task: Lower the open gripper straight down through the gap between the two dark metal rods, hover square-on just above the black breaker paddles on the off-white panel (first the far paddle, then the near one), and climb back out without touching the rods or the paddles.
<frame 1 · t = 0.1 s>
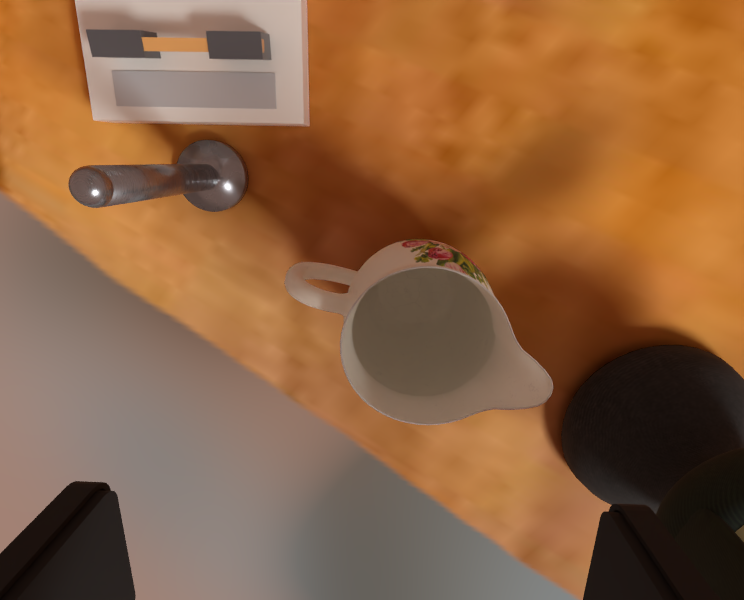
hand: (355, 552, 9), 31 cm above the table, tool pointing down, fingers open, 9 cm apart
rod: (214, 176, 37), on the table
panel: (204, 55, 34), on the table
paddles: (182, 45, 31), point 4 cm above the table, hinge at 10.0°
pitcher: (403, 285, 39), on the table
candelabra: (622, 425, 43), on the table
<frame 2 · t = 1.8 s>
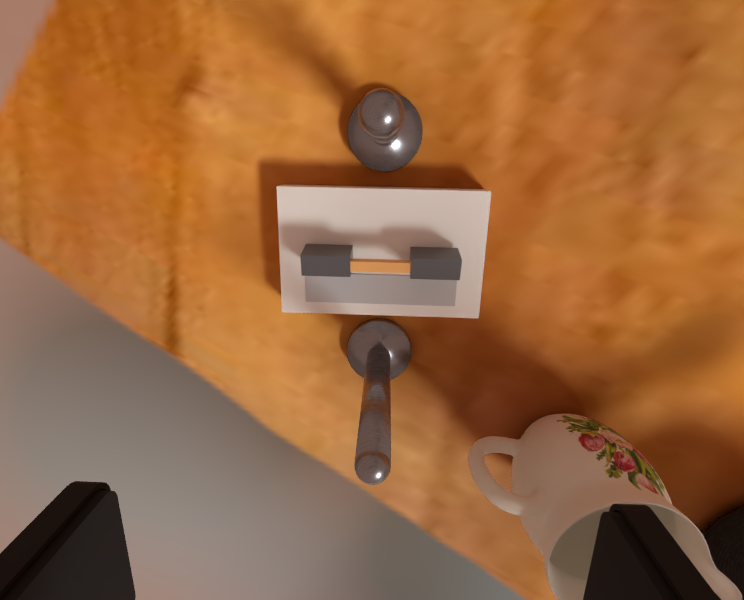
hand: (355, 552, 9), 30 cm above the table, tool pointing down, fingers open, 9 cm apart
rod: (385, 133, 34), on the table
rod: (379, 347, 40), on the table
panel: (381, 248, 37), on the table
paddles: (380, 261, 33), point 4 cm above the table, hinge at 10.0°
pitcher: (545, 440, 42), on the table
candelabra: (740, 559, 46), on the table
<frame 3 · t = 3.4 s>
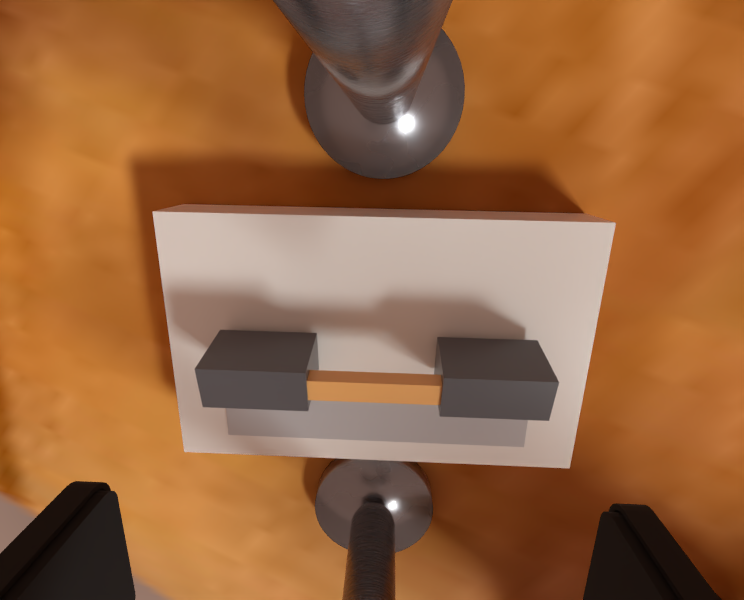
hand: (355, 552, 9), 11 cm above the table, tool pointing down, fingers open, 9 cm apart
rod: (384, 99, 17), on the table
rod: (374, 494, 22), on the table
panel: (378, 325, 19), on the table
paddles: (375, 372, 16), point 4 cm above the table, hinge at 10.0°
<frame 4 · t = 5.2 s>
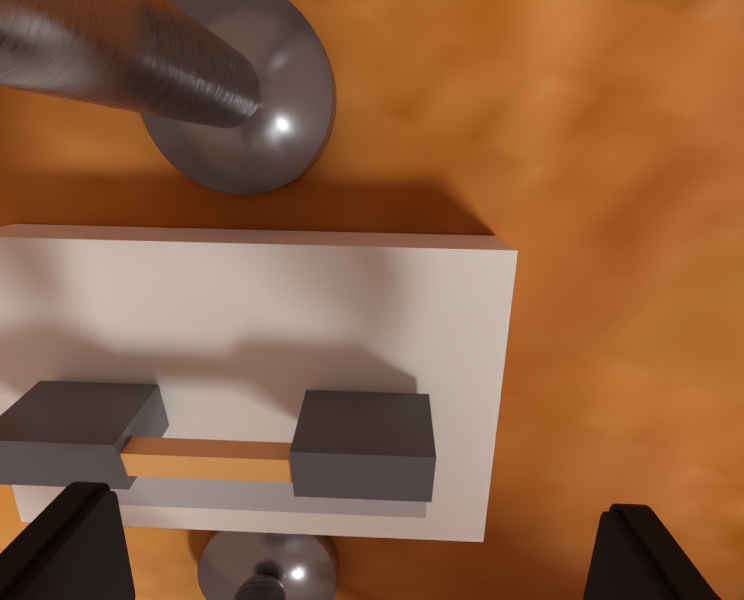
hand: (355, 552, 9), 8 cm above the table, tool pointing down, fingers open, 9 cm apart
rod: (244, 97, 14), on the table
panel: (260, 367, 16), on the table
paddles: (222, 437, 12), point 4 cm above the table, hinge at 10.0°
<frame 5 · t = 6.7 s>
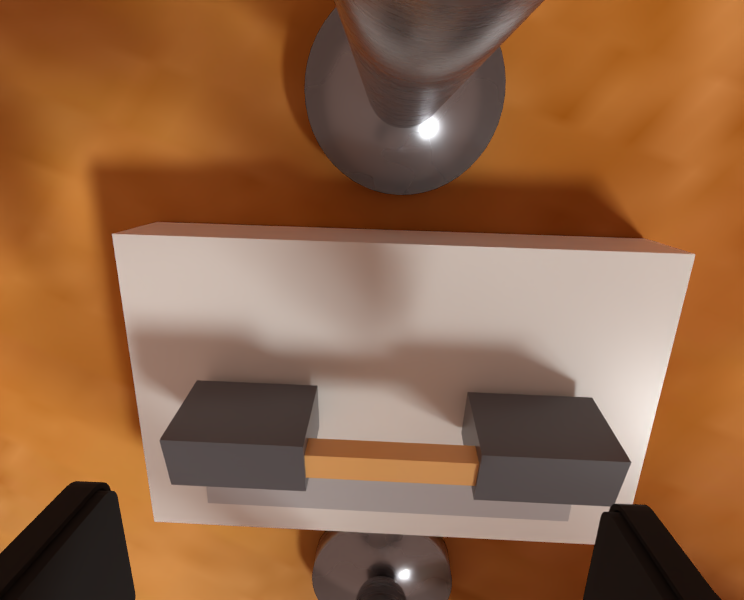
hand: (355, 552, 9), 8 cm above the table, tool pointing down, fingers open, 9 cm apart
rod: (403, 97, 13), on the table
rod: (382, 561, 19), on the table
panel: (390, 368, 16), on the table
paddles: (390, 439, 12), point 4 cm above the table, hinge at 10.0°
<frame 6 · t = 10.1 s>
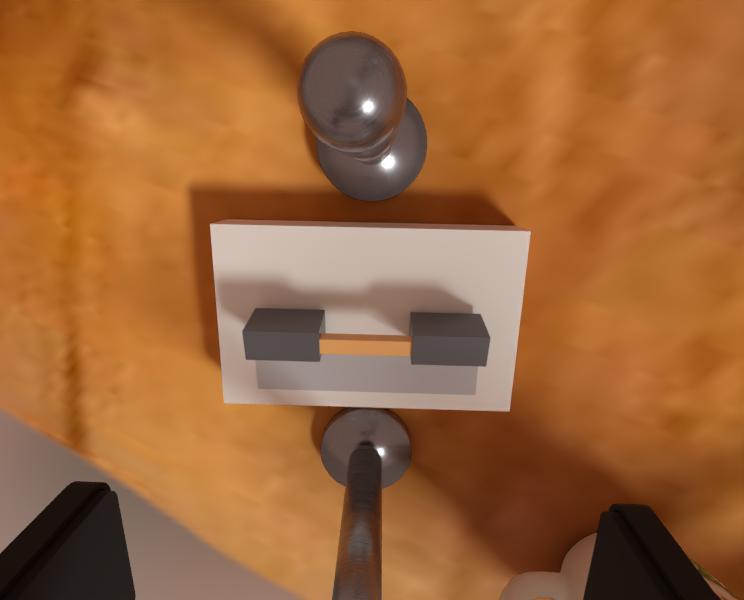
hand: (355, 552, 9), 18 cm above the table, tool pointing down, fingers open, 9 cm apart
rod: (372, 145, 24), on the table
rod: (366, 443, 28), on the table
panel: (368, 308, 26), on the table
paddles: (366, 336, 22), point 4 cm above the table, hinge at 10.0°
pitcher: (595, 562, 31), on the table
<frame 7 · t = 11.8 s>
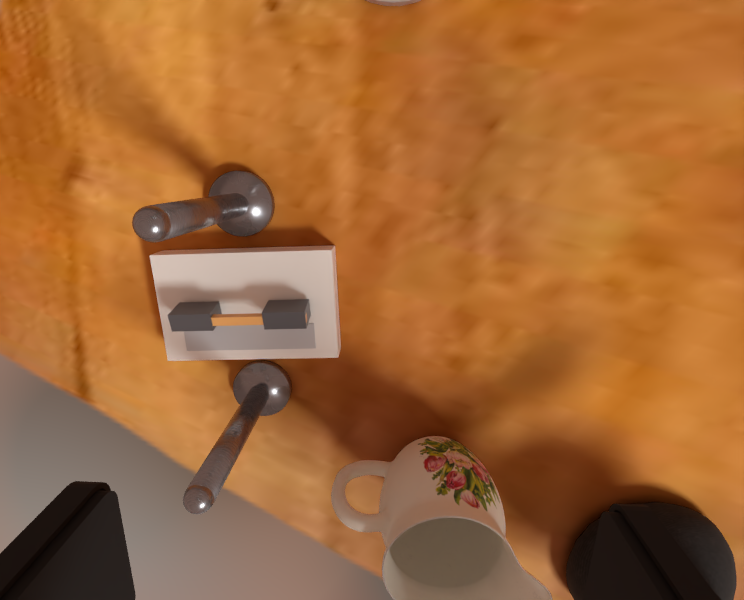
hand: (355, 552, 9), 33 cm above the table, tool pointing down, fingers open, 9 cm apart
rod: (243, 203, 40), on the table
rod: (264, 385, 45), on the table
panel: (254, 300, 42), on the table
paddles: (241, 315, 39), point 4 cm above the table, hinge at 10.0°
pitcher: (423, 460, 47), on the table
candelabra: (618, 561, 50), on the table
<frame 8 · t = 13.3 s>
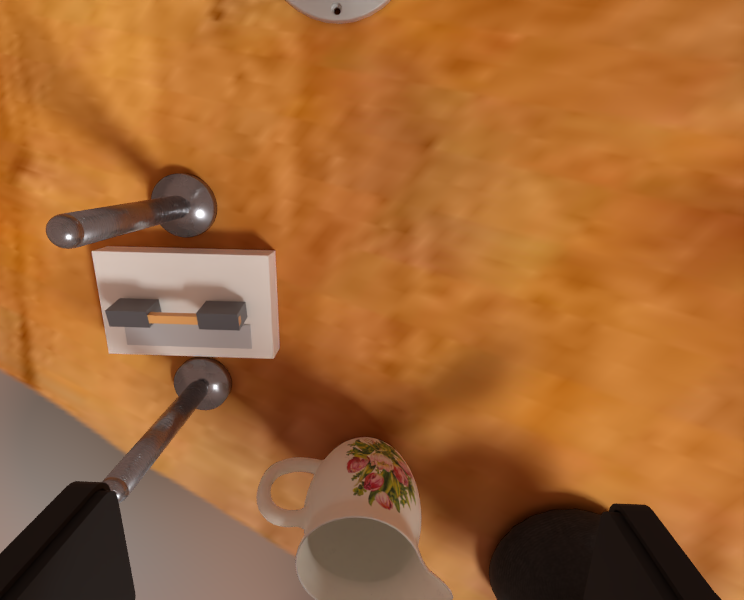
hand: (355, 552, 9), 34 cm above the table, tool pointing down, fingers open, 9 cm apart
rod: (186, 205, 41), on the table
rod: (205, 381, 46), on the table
panel: (196, 298, 44), on the table
paddles: (178, 313, 40), point 4 cm above the table, hinge at 10.0°
pitcher: (357, 459, 49), on the table
candelabra: (540, 562, 52), on the table
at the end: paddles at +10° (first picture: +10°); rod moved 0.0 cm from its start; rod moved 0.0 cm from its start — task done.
